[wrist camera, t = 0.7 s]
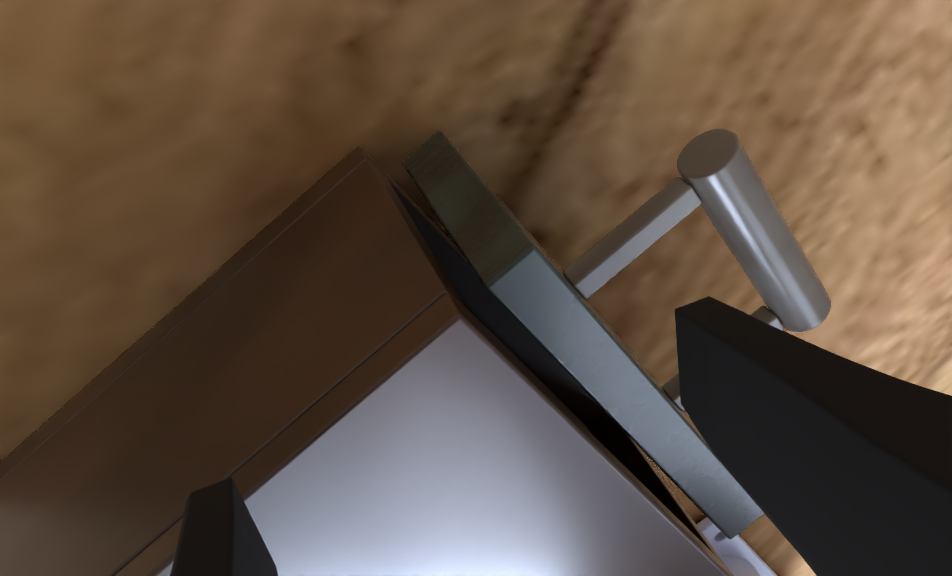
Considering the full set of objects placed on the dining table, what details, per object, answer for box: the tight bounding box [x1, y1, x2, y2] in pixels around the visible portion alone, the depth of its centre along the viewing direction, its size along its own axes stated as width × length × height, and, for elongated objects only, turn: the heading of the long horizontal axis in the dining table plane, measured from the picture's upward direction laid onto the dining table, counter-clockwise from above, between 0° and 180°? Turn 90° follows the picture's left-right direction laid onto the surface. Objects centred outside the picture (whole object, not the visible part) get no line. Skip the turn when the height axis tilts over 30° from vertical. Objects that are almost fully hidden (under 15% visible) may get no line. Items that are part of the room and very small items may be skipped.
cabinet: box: [0, 146, 733, 576], centre depth 23 cm, size 14×13×8 cm
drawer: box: [403, 129, 831, 539], centre depth 22 cm, size 17×11×6 cm, turn 126°
